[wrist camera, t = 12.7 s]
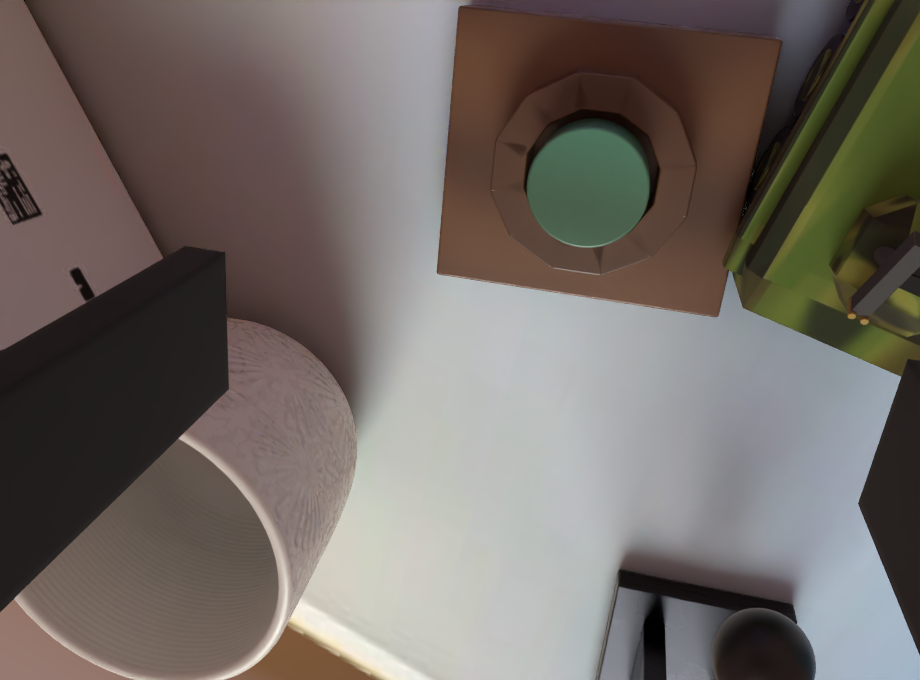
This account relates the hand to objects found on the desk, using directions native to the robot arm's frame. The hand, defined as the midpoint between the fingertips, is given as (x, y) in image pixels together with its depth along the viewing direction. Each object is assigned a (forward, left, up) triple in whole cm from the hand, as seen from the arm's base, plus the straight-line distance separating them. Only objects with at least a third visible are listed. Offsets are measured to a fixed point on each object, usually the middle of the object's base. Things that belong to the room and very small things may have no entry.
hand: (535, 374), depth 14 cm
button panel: (0, 0, -20) cm, 20 cm away
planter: (+14, -14, -20) cm, 28 cm away
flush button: (0, 0, -16) cm, 16 cm away
